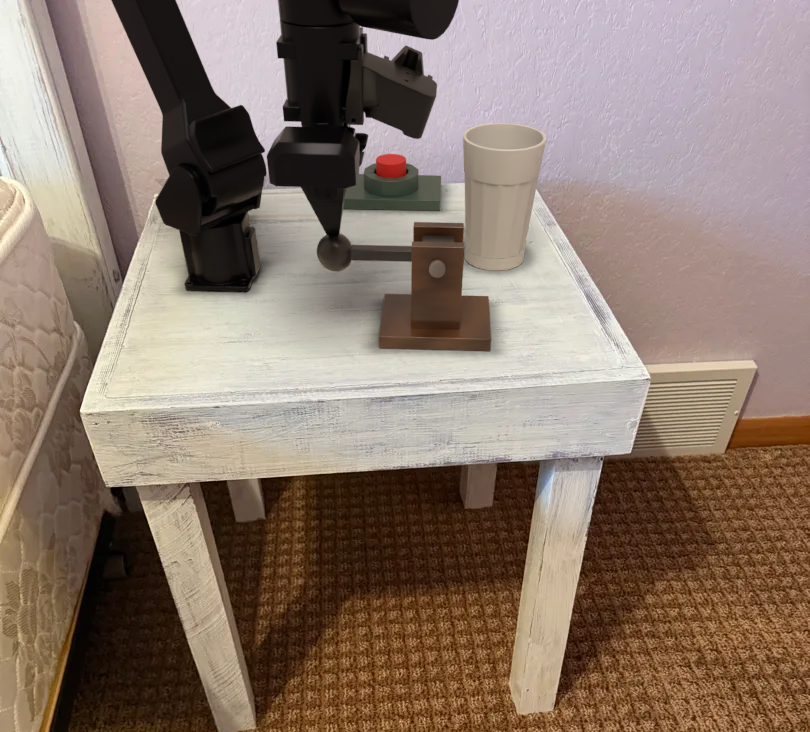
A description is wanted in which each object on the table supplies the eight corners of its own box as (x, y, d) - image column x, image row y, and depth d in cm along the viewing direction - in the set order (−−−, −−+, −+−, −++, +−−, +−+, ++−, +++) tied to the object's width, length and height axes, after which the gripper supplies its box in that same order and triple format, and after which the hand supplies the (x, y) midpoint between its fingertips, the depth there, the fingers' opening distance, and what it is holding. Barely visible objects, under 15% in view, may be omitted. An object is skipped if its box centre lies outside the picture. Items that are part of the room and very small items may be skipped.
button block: (339, 208, 91) (337, 182, 89) (346, 183, 96) (344, 158, 94) (439, 210, 90) (440, 184, 88) (440, 185, 96) (441, 160, 94)
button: (375, 179, 90) (374, 164, 89) (377, 168, 93) (377, 153, 91) (405, 180, 90) (405, 164, 89) (406, 169, 93) (406, 153, 91)
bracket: (379, 348, 69) (376, 253, 62) (385, 304, 74) (383, 213, 68) (490, 351, 68) (498, 256, 62) (487, 307, 74) (495, 216, 68)
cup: (528, 277, 78) (543, 153, 70) (451, 270, 79) (457, 147, 71) (534, 244, 84) (549, 125, 75) (462, 238, 85) (469, 120, 76)
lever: (315, 277, 67) (312, 241, 64) (320, 261, 69) (317, 225, 67) (452, 280, 66) (454, 244, 64) (453, 264, 68) (454, 228, 66)
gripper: (428, 53, 48) (423, 288, 59) (435, -7, 61) (429, 194, 72) (252, 50, 48) (279, 284, 59) (296, -9, 61) (312, 191, 72)
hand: (333, 233), depth 65 cm, fingers closed
